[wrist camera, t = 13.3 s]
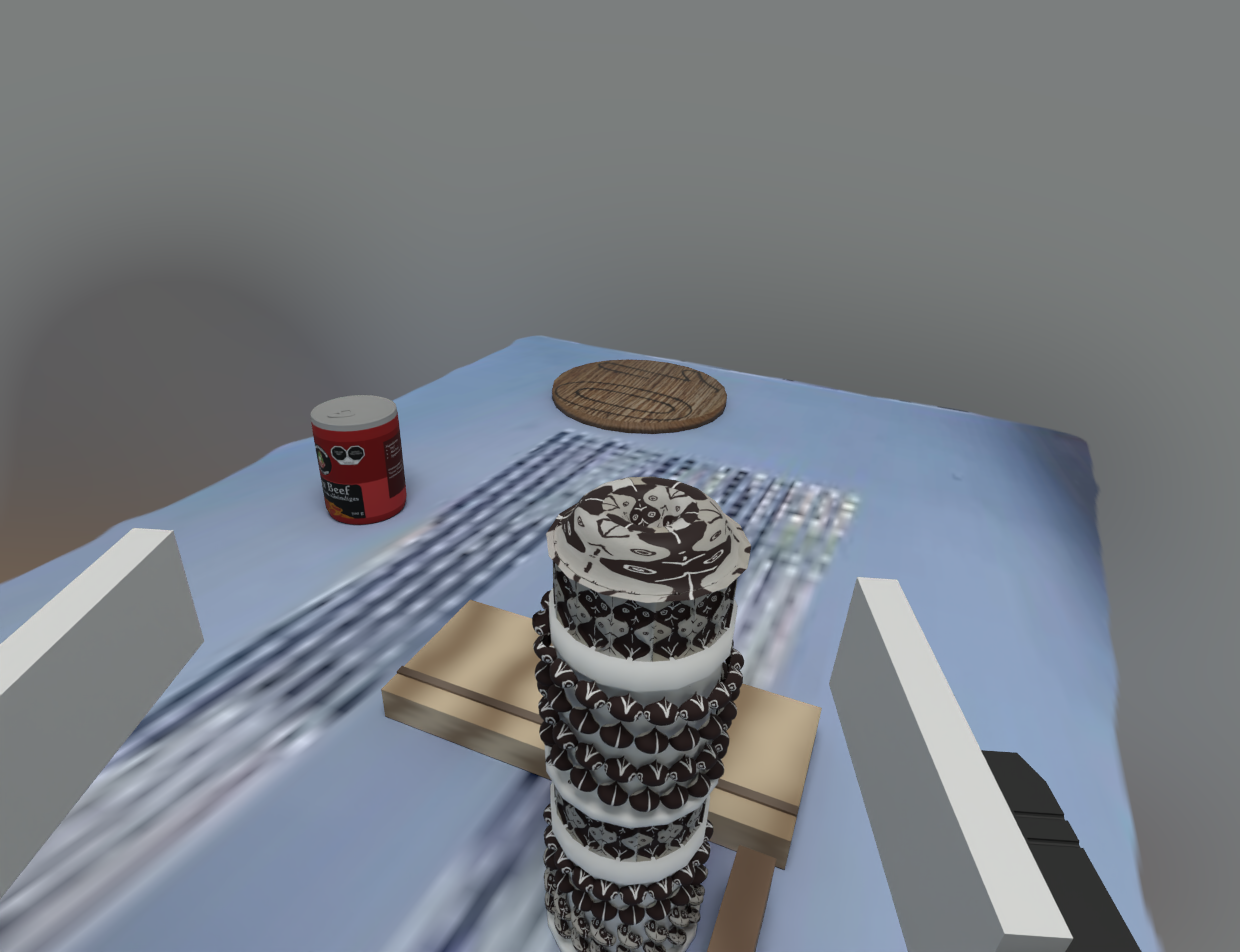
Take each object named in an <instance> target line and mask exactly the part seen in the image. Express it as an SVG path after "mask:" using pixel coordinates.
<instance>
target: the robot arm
mask: <svg viewBox="0 0 1240 952" xmlns="http://www.w3.org/2000/svg"><path fill="white" fill-rule="evenodd" d="M203 642H204V639H203V635H202V631H201V628H200V624H199V621H198V617H197V614H196V610H195V606H194V603H193V599H192V596H191V592H190V589H189V585H188V581H187V578H186V574H185V571H184V567H183V564H182V560H181V556H180V553H179V549H178V546H177V542H176V539H175V535H174V531H170V530H156V529H141V528H133V529H132V530H131V531H130V532H128V533H127V534H126V535H125V536H124V537H123V538H122V539H120V540H119V541H118V542H117V543H116V544H115V545H114V546H112V547H111V548H110V549H109V550H108V551H107V552H106V553H104V554H103V555H102V556H101V557H100V558H99V559H98V560H96V561H95V562H94V563H93V564H92V565H91V566H90V567H88V568H87V569H86V570H85V571H84V572H83V573H82V574H80V575H79V576H78V577H77V578H76V579H75V580H74V581H72V582H71V583H70V584H69V585H68V586H67V587H66V588H64V589H63V590H62V591H61V592H60V593H59V594H58V595H56V596H55V597H54V598H53V599H52V600H51V601H49V602H48V603H47V604H46V605H45V606H44V607H43V608H41V609H40V610H39V611H38V612H37V613H36V614H35V615H33V616H32V617H31V618H30V619H29V620H28V621H27V622H25V623H24V624H23V625H22V626H21V627H20V628H19V629H17V630H16V631H15V632H14V633H13V634H12V635H11V636H9V637H8V638H7V639H6V640H5V641H4V642H3V643H1V644H0V899H1V898H2V897H3V895H4V894H5V893H6V891H7V890H8V889H9V888H10V886H11V885H12V884H13V883H14V881H15V880H16V879H17V878H18V876H19V875H20V874H21V872H22V871H23V870H24V869H25V867H26V866H27V865H28V864H29V862H30V861H31V860H32V859H33V857H34V856H35V855H36V853H37V852H38V851H39V850H40V848H41V847H42V846H43V845H44V843H45V842H46V841H47V840H48V838H49V837H50V836H51V834H52V833H53V832H54V831H55V829H56V828H57V827H58V826H59V824H60V823H61V822H62V821H63V819H64V818H65V817H66V815H67V814H68V813H69V812H70V810H71V809H72V808H73V807H74V805H75V804H76V803H77V802H78V800H79V799H80V798H81V796H82V795H83V794H84V793H85V791H86V790H87V789H88V788H89V786H90V785H91V784H92V783H93V781H94V780H95V779H96V777H97V776H98V775H99V774H100V772H101V771H102V770H103V769H104V767H105V766H106V765H107V764H108V762H109V761H110V760H111V758H112V757H113V756H114V755H115V753H116V752H117V751H118V750H119V748H120V747H121V746H122V745H123V743H124V742H125V741H126V739H127V738H128V737H129V736H130V734H131V733H132V732H133V731H134V729H135V728H136V727H137V726H138V724H139V723H140V722H141V720H142V719H143V718H144V717H145V715H146V714H147V713H148V712H149V710H150V709H151V708H152V707H153V705H154V704H155V703H156V701H157V700H158V699H159V698H160V696H161V695H162V694H163V693H164V691H165V690H166V689H167V688H168V686H169V685H170V684H171V682H172V681H173V680H174V679H175V677H176V676H177V675H178V674H179V672H180V671H181V670H182V669H183V667H184V666H185V665H186V663H187V662H188V661H189V660H190V658H191V657H192V656H193V655H194V653H195V652H196V651H197V650H198V648H199V647H200V646H201V644H202V643H203ZM829 685H830V689H831V692H832V695H833V699H834V702H835V705H836V709H837V712H838V716H839V719H840V722H841V726H842V729H843V733H844V736H845V739H846V743H847V746H848V750H849V753H850V756H851V760H852V763H853V766H854V770H855V773H856V777H857V780H858V783H859V787H860V790H861V794H862V797H863V800H864V804H865V807H866V811H867V814H868V817H869V821H870V824H871V827H872V831H873V834H874V838H875V841H876V844H877V848H878V851H879V855H880V858H881V861H882V865H883V868H884V872H885V875H886V878H887V882H888V885H889V889H890V892H891V895H892V899H893V902H894V905H895V909H896V912H897V916H898V919H899V922H900V926H901V929H902V933H903V936H904V939H905V943H906V946H907V950H908V952H1141V950H1140V948H1139V947H1138V945H1137V943H1136V941H1135V940H1134V938H1133V936H1132V934H1131V932H1130V931H1129V929H1128V927H1127V925H1126V924H1125V922H1124V920H1123V918H1122V916H1121V915H1120V913H1119V911H1118V909H1117V907H1116V906H1115V904H1114V902H1113V900H1112V899H1111V897H1110V895H1109V893H1108V891H1107V890H1106V888H1105V886H1104V884H1103V883H1102V881H1101V879H1100V877H1099V875H1098V874H1097V872H1096V870H1095V868H1094V867H1093V865H1092V863H1091V861H1090V859H1089V858H1088V856H1087V854H1086V852H1085V850H1084V849H1083V848H1080V846H1079V840H1078V838H1077V836H1076V834H1075V833H1074V831H1073V829H1072V827H1071V826H1070V824H1069V822H1068V821H1065V819H1064V813H1063V811H1062V810H1061V808H1060V806H1059V804H1058V802H1057V801H1056V799H1055V797H1054V795H1053V793H1052V792H1051V790H1050V788H1049V786H1048V785H1047V783H1046V781H1045V780H1044V779H1043V778H1042V777H1041V776H1040V775H1039V774H1038V773H1037V772H1036V771H1035V770H1034V769H1033V768H1032V767H1031V766H1030V765H1029V764H1028V763H1027V762H1026V761H1025V760H1024V759H1023V758H1022V757H1021V756H1020V755H1019V754H1018V753H1012V752H997V751H983V750H981V749H980V747H979V745H978V743H977V741H976V739H975V737H974V735H973V733H972V731H971V729H970V727H969V725H968V723H967V721H966V719H965V717H964V715H963V713H962V711H961V709H960V707H959V705H958V703H957V701H956V699H955V697H954V695H953V692H952V690H951V688H950V686H949V684H948V682H947V680H946V678H945V676H944V674H943V672H942V670H941V668H940V666H939V664H938V662H937V660H936V658H935V656H934V654H933V652H932V650H931V648H930V646H929V644H928V642H927V640H926V638H925V635H924V633H923V631H922V629H921V627H920V625H919V623H918V621H917V619H916V617H915V615H914V613H913V611H912V609H911V607H910V605H909V603H908V601H907V599H906V597H905V595H904V593H903V591H902V589H901V587H900V585H899V583H898V580H892V579H877V578H862V577H857V580H856V583H855V587H854V591H853V595H852V599H851V602H850V606H849V610H848V614H847V618H846V622H845V625H844V629H843V633H842V637H841V641H840V644H839V648H838V652H837V656H836V660H835V663H834V667H833V671H832V675H831V679H830V683H829Z"/></svg>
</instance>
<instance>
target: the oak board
mask: <svg viewBox="0 0 1240 952" xmlns="http://www.w3.org/2000/svg"><path fill="white" fill-rule="evenodd" d="M539 636H540V635H539V634H537V633H536V632H535V630H534V628H533V625H532V619H531V618H528V617H525V616H521V615H518V614H515V613H512V612H508V611H505V610H502V609H499V608H495V607H492V606H489V605H486V604H482V603H479V602H476V601H473V600H469V601H468V603H467V604H466V605H465V606H464V607H463V608H462V609H461V610H460V611H459V612H458V613H457V614H456V615H455V616H454V617H453V618H452V619H451V620H450V621H449V622H448V623H447V624H446V625H445V626H444V627H443V628H442V629H441V630H440V631H439V632H438V633H437V634H436V635H435V636H434V637H433V638H432V639H431V640H430V641H429V642H428V643H427V644H426V645H425V646H424V647H423V648H422V649H421V650H420V651H419V652H418V653H417V654H416V655H415V656H414V657H413V658H412V659H411V660H410V661H409V662H408V663H407V664H406V665H405V666H402V667H401V668H400V669H399V670H398V671H397V674H396V675H395V676H394V677H393V678H392V679H391V680H390V681H389V682H388V683H387V684H386V685H385V686H384V687H383V688H382V689H381V691H382V697H383V704H384V710H385V716H386V717H389V718H391V719H394V720H396V721H399V722H402V723H404V724H407V725H409V726H412V727H415V728H417V729H420V730H422V731H425V732H428V733H430V734H433V735H435V736H438V737H441V738H443V739H446V740H448V741H451V742H454V743H456V744H459V745H461V746H464V747H467V748H469V749H472V750H474V751H477V752H480V753H482V754H485V755H487V756H490V757H493V758H495V759H498V760H500V761H503V762H506V763H508V764H511V765H513V766H516V767H519V768H521V769H524V770H526V771H529V772H532V773H534V774H537V775H539V776H542V777H545V778H547V779H550V780H551V778H550V777H549V775H548V773H547V772H546V762H545V761H546V759H545V745H544V743H543V741H542V740H541V738H540V734H539V730H540V726H541V724H542V722H543V721H544V720H543V719H542V718H541V717H540V715H539V708H538V704H539V701H540V700H541V698H542V697H543V696H542V695H541V693H540V692H539V691H538V688H537V680H536V678H535V668H536V665H537V664H538V662H539V661H540V660H541V659H539V658H538V657H537V655H536V654H535V652H534V648H533V644H534V642H535V640H536V639H537V638H538V637H539ZM550 646H553V645H552V643H551V645H550ZM554 648H555V647H554ZM733 702H734V703H735V705H736V707H737V715H736V718H735V719H733V720H732V724H731V726H730V728H729V729H728V730H726V731H727V733H728V735H729V739H730V740H729V746H728V750H727V753H726V755H725V756H724V757H723V758H722V760H721V761H722V762H723V765H724V774H723V775H722V777H720V778H719V779H718V784H717V785H716V786H715V788H714V789H713V790H712V792H711V793H710V804H709V811H708V817H707V819H708V820H709V821H710V822H711V823H712V824H713V827H714V830H713V835H712V837H711V838H710V840H708V841H711V842H713V843H716V844H719V845H721V846H724V847H726V848H729V849H732V850H734V851H737V850H738V847H739V845H742V846H744V847H747V848H749V849H752V850H755V851H757V852H760V853H763V854H765V855H768V856H770V857H773V858H776V863H775V866H776V867H778V868H781V869H784V870H785V866H786V861H787V857H788V853H789V848H790V844H791V840H792V835H793V831H794V827H795V822H796V818H797V814H798V809H799V805H800V801H801V796H802V792H803V788H804V783H805V779H806V775H807V770H808V766H809V762H810V757H811V753H812V749H813V744H814V740H815V736H816V731H817V727H818V722H819V718H820V713H821V709H822V708H820V707H817V706H813V705H810V704H807V703H804V702H800V701H797V700H794V699H791V698H787V697H784V696H781V695H778V694H774V693H771V692H768V691H765V690H761V689H758V688H755V687H752V686H749V685H745V684H742V686H741V687H740V694H739V696H738V698H737V699H736V700H735V701H733Z"/></svg>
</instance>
